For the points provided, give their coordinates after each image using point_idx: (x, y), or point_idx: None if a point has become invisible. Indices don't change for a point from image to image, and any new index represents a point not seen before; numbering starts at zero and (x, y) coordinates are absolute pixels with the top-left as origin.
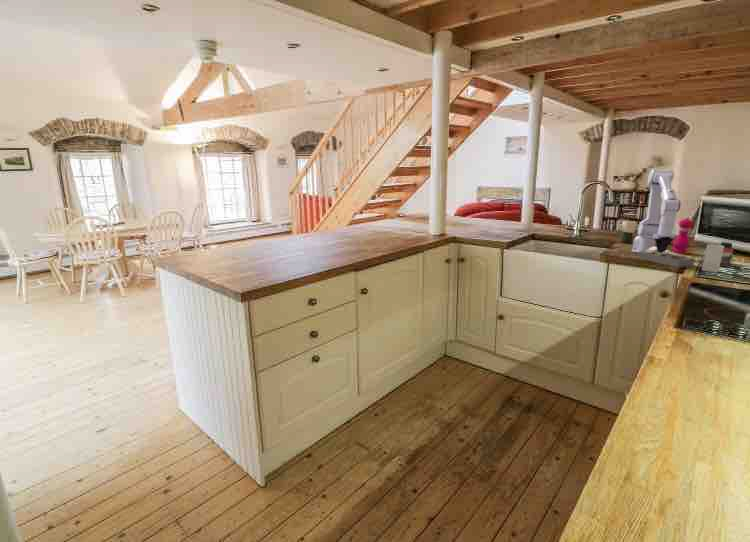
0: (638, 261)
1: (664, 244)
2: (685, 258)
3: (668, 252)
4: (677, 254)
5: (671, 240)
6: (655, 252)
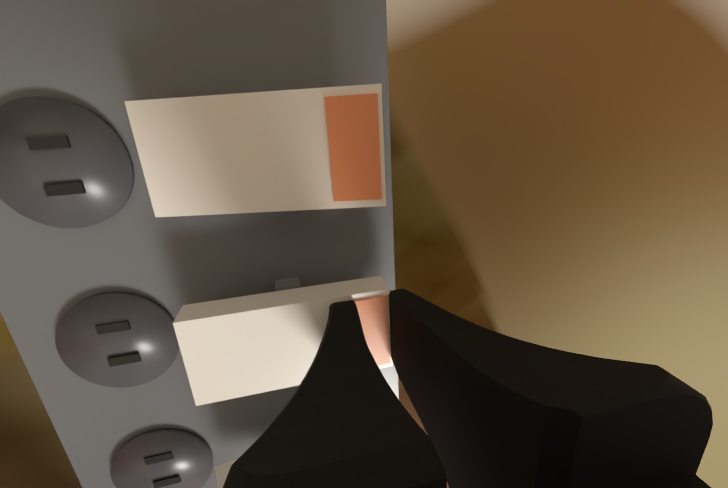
0: (488, 328)
1: (504, 344)
2: (113, 39)
3: (232, 304)
4: (300, 89)
5: (319, 446)
6: (239, 442)
